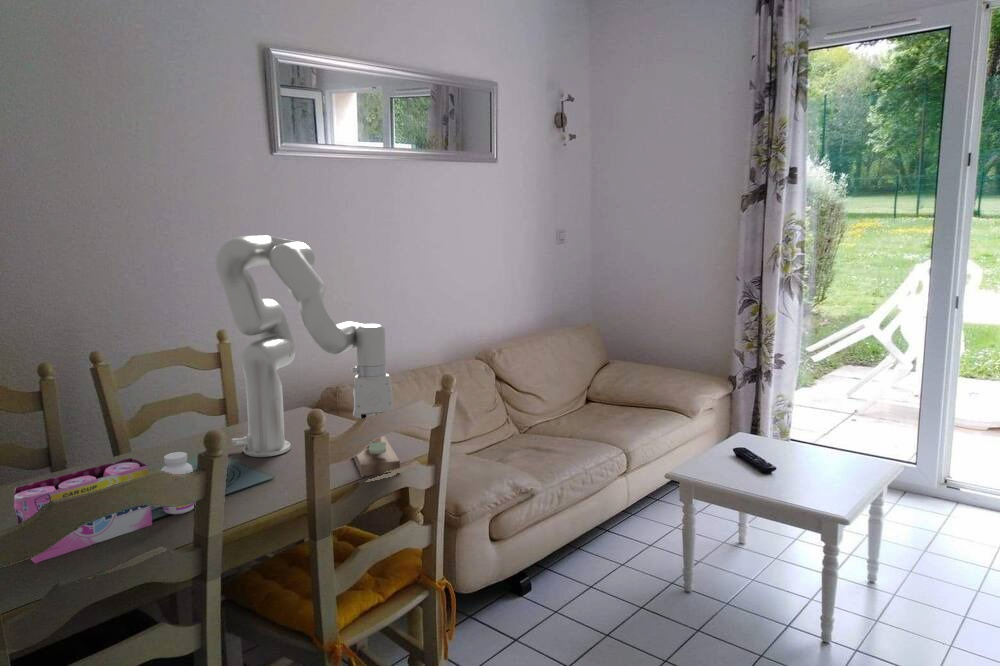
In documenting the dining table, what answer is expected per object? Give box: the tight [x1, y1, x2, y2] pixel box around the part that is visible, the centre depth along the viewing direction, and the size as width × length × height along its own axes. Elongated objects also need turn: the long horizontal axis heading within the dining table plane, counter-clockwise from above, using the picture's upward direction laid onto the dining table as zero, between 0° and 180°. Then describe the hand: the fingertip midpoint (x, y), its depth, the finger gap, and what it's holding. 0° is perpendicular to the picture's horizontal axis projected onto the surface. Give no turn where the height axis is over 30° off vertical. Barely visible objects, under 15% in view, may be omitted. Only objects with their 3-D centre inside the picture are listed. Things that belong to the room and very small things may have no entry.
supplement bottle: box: [160, 451, 195, 515], centre depth 158 cm, size 7×7×13 cm
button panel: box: [353, 435, 401, 477], centre depth 191 cm, size 10×22×3 cm, turn 20°
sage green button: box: [369, 441, 386, 454], centre depth 184 cm, size 4×4×2 cm
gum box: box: [13, 457, 153, 564], centre depth 143 cm, size 24×8×14 cm, turn 141°
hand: (373, 436), depth 190 cm, fingers closed
